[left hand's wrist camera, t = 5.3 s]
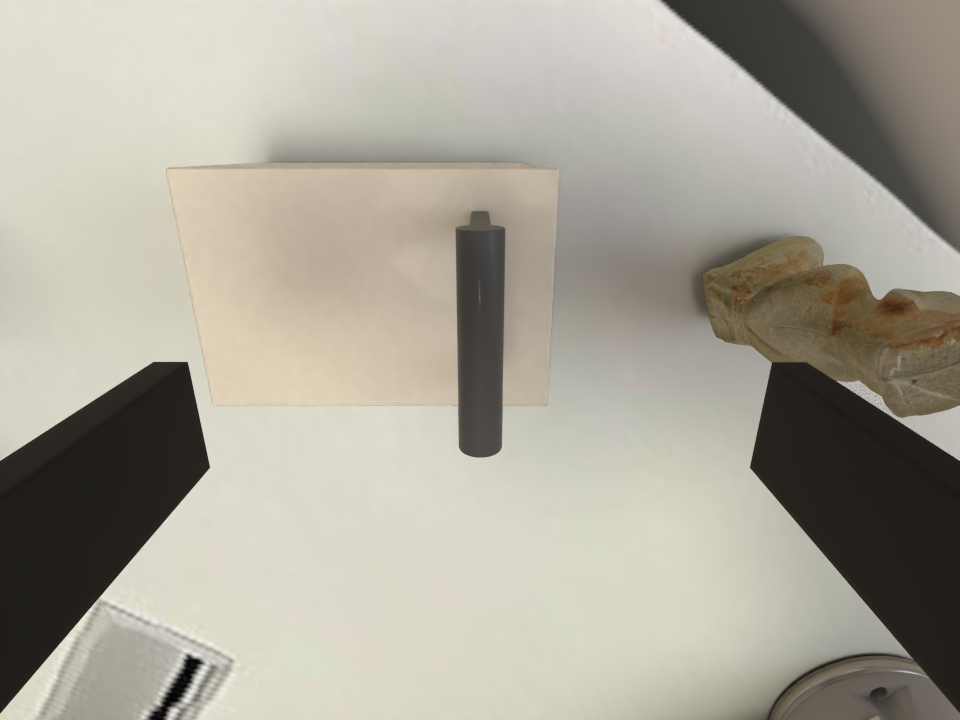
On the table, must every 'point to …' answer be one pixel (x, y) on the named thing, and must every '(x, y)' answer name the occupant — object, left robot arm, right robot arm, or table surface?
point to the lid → (373, 286)
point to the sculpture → (840, 324)
